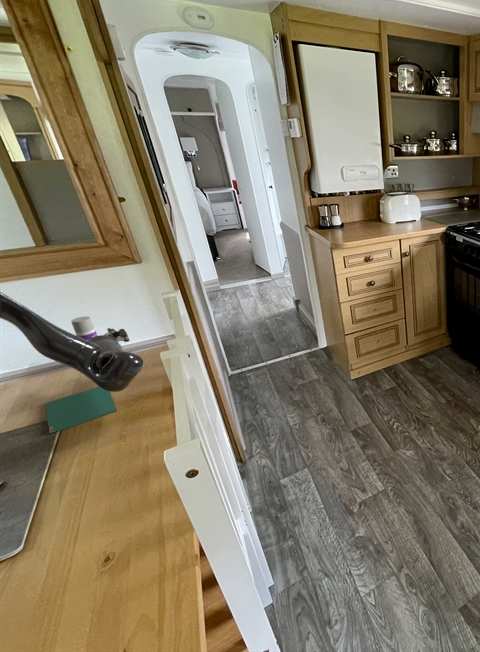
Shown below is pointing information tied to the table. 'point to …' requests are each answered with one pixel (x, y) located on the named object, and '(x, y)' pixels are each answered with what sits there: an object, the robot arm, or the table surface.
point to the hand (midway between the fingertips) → (91, 335)
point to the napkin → (79, 408)
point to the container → (84, 327)
